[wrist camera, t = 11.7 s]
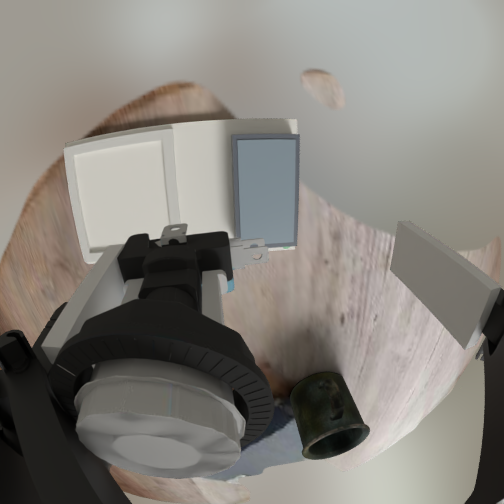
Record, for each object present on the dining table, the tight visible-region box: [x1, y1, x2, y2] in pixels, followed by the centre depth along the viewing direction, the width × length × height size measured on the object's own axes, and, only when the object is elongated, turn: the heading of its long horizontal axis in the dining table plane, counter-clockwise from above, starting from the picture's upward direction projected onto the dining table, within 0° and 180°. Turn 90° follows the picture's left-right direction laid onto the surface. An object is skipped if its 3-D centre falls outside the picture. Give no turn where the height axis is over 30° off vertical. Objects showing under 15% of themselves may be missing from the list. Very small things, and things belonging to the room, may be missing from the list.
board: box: [64, 119, 297, 264], centre depth 27 cm, size 24×14×1 cm, turn 91°
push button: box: [51, 223, 274, 479], centre depth 9 cm, size 7×5×10 cm
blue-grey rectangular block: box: [231, 133, 300, 248], centre depth 27 cm, size 6×11×3 cm, turn 1°
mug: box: [290, 372, 370, 460], centre depth 38 cm, size 11×15×12 cm
